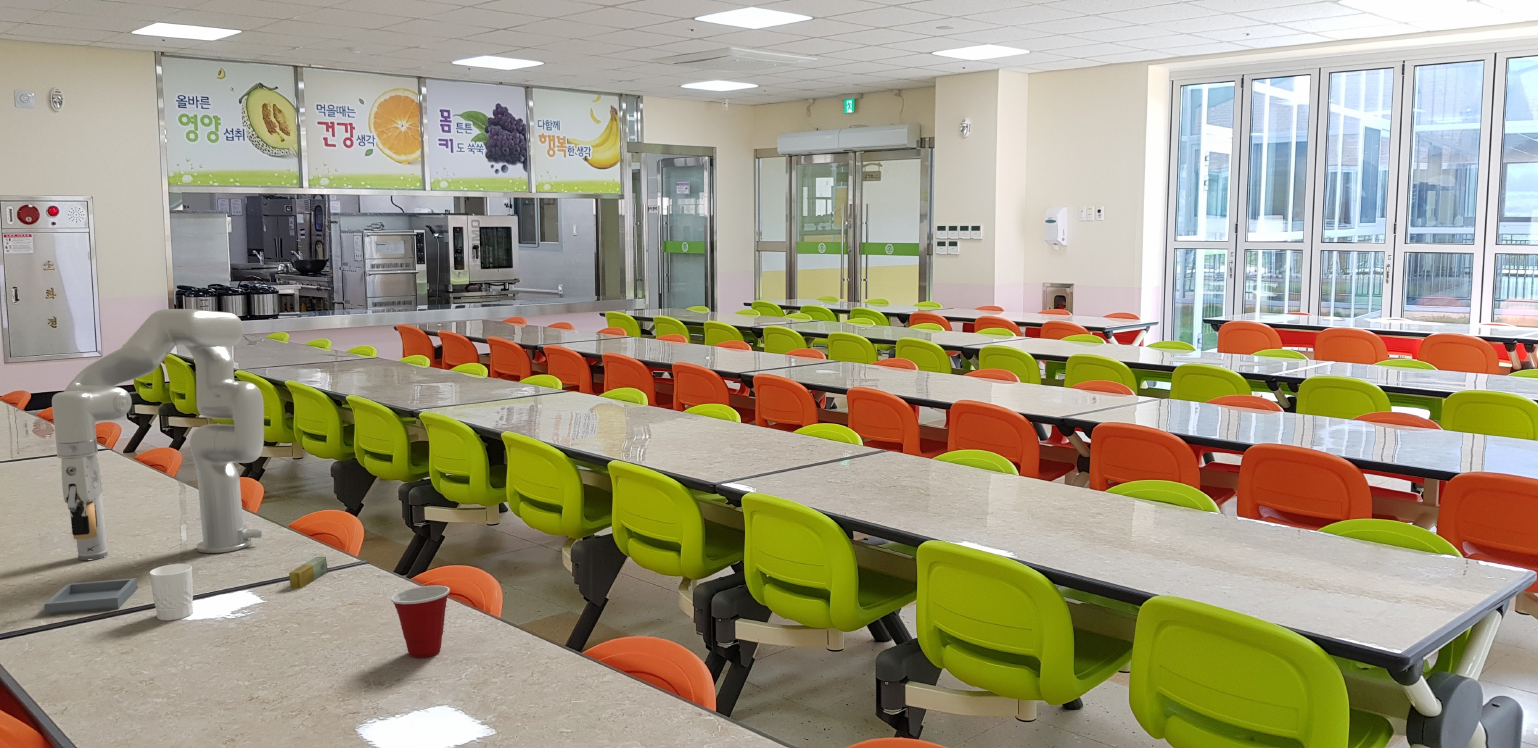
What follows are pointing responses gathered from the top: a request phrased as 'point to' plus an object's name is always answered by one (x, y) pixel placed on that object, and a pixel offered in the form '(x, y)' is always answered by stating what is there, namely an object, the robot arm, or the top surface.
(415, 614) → the plastic cup
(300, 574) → the medication box
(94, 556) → the travel mug
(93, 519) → the battery cell
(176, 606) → the white cup
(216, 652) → the top surface
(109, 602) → the tray
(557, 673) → the top surface
